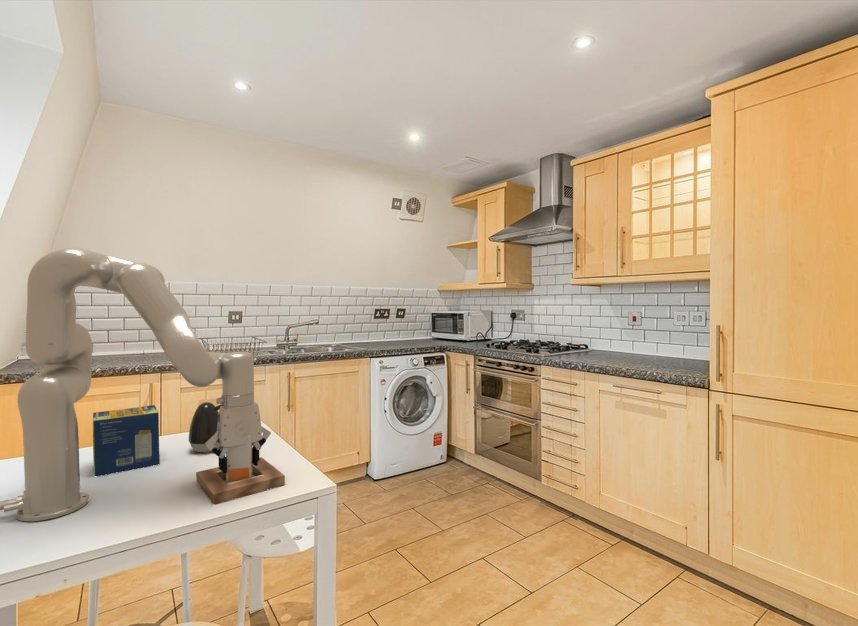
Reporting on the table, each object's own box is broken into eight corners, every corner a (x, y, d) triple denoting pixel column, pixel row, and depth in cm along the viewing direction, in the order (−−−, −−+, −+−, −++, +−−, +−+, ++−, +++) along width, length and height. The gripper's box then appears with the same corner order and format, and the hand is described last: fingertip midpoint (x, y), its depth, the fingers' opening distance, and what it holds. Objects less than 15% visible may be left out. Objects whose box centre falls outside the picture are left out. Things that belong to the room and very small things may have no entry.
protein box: (94, 465, 127) (92, 412, 126) (156, 454, 136) (155, 404, 135) (93, 477, 118) (92, 420, 118) (160, 464, 128) (159, 411, 127)
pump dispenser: (221, 454, 136) (220, 405, 136) (184, 456, 134) (183, 407, 133) (228, 443, 146) (227, 397, 146) (194, 445, 144) (193, 399, 143)
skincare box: (225, 484, 112) (225, 437, 111) (228, 478, 116) (227, 432, 115) (251, 481, 113) (250, 435, 113) (253, 475, 117) (252, 430, 117)
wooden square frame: (213, 504, 103) (213, 493, 103) (196, 481, 116) (196, 471, 116) (284, 484, 114) (284, 475, 114) (261, 465, 127) (261, 456, 127)
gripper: (205, 408, 105) (206, 481, 106) (277, 397, 117) (278, 464, 117) (198, 402, 111) (199, 472, 112) (267, 392, 122) (267, 456, 123)
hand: (239, 467), depth 114 cm, fingers closed on skincare box, 7 cm apart
